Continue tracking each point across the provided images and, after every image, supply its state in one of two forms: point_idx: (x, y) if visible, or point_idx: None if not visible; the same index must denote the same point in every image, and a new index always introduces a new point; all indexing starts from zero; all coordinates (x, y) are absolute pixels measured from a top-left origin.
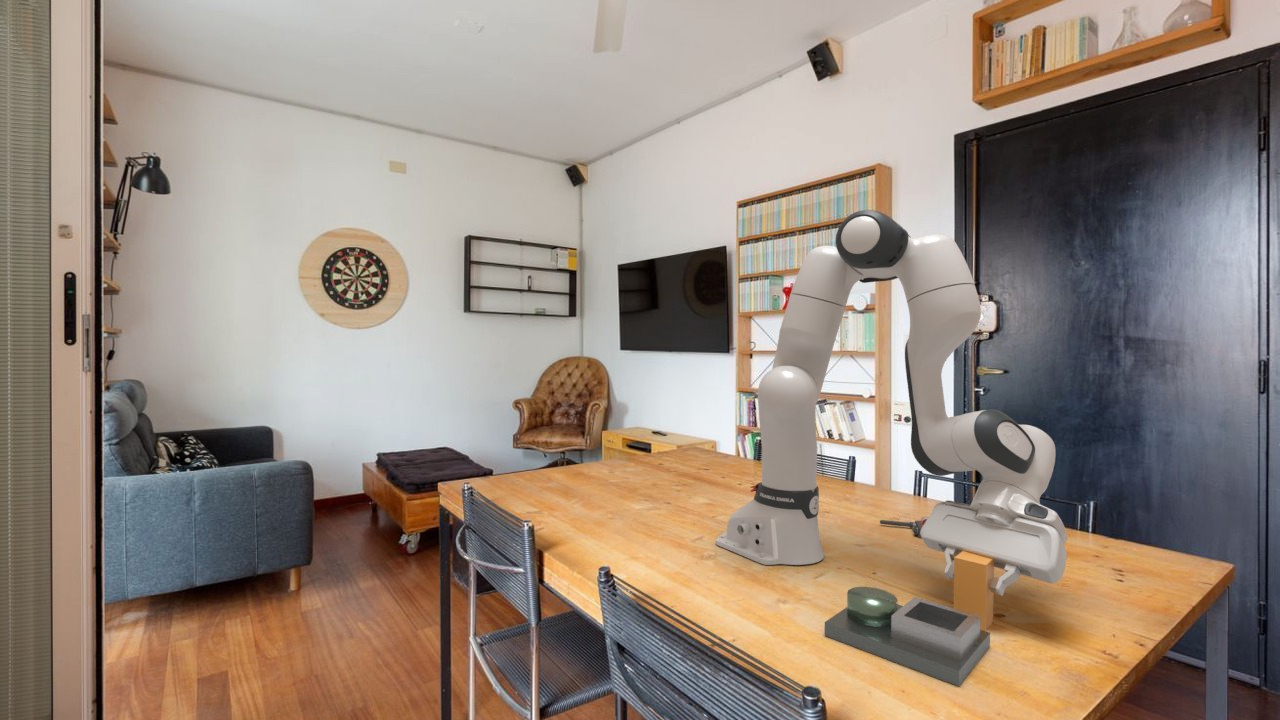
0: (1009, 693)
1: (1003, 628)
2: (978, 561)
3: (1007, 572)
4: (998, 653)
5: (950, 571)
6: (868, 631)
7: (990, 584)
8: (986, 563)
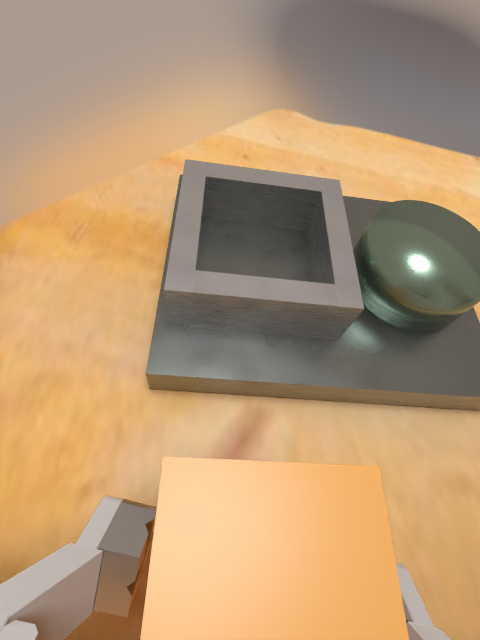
0: (100, 221)
1: None
2: (226, 506)
3: (21, 597)
4: (127, 366)
5: None
6: (362, 217)
7: (149, 512)
8: (166, 501)
